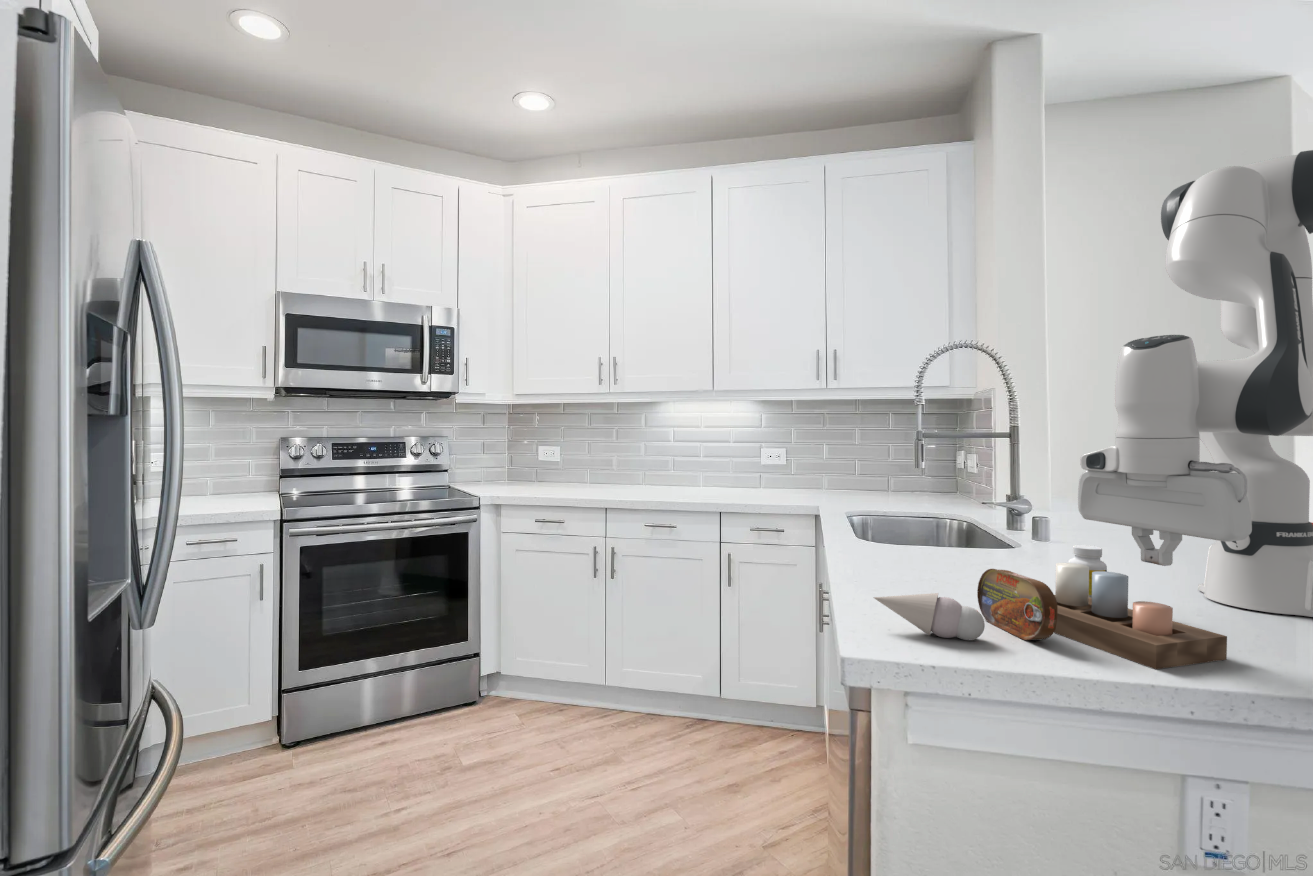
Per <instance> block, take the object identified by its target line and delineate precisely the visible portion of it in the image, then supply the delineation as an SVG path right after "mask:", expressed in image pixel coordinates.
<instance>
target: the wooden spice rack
mask: <svg viewBox="0 0 1313 876" xmlns="http://www.w3.org/2000/svg"><path fill="white" fill-rule="evenodd" d="M1054 596H1055V594H1054ZM1057 606H1058V609H1057V610H1058V616H1057V624H1056V629H1055V631H1054V633H1053V634H1056V635H1059V636H1062V637H1065V638H1068V639H1070V640H1073V641H1076V642H1078V643H1082V644H1085V645H1087V646H1090V647H1092V648H1095V649H1098V650H1101V651H1104V652H1105V653H1109V654H1112V655H1115V656H1118V657H1119V658H1120V657H1121V658H1122V659H1126V660H1129V661H1131V662H1134V663H1138V664H1140V665H1142V666H1144V667H1148V668H1151V669H1154V670H1160V669H1161V670H1163V669H1169V668H1175V667H1182V666H1189V665H1190V666H1191V665H1196V664H1203V663H1204V664H1205V663H1211V662H1219V661H1225V660H1227V658H1228V657H1227V656H1228V655H1227V654H1228V653H1227V652H1228V650H1227V649H1228V635H1225V634H1220V633H1217V632H1213V631H1209V630H1206V629H1203V628H1200V627H1196V626H1193V625H1188V624H1186V623H1181V622H1177V621H1174V620H1173V622H1172V634H1170V635H1162V636H1155V635H1152V634H1149V633H1145V632H1142V631H1139V630H1136V629H1133V628H1132V622H1133V608H1129V607H1128V617H1125V618H1113V617H1106V616H1101V615H1097V614H1095V613H1093V612H1092V598H1090V597H1089V605H1087V606H1071V605H1065V604H1061V603H1058V602H1057Z"/></svg>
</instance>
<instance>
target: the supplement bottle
mask: <svg viewBox="0 0 1313 876" xmlns="http://www.w3.org/2000/svg"><path fill="white" fill-rule="evenodd" d="M1072 548H1073V549H1072V554H1073V556H1074V557H1072V558H1070V559H1069V560H1067V561H1068V562H1067V563H1075V564H1081V565H1086V566H1088V567H1089V597H1090V598H1092V572H1096V571H1105V572H1108V569H1107V567H1108V566H1107V564H1106V562H1105V561H1102V560H1101V558H1102V557H1103V548H1102V547H1100V546H1095V545H1088V544H1077V545H1076V544H1075V545H1073V546H1072Z"/></svg>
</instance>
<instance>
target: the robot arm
mask: <svg viewBox="0 0 1313 876" xmlns="http://www.w3.org/2000/svg"><path fill="white" fill-rule="evenodd" d="M1160 210H1161V211H1160V225H1161V228H1162V232H1163V234H1164V236H1165V239H1166V240H1168V243H1167V246H1166V252H1165V269H1166V273H1167V276H1168V278H1170V280H1171V281H1172V282H1173V283H1174V284H1175V285H1176V286H1177V287H1178V288H1180V289H1181V290H1183V291H1185V292H1187V293H1189V294H1191V295H1193V296H1196V297H1200V298H1203V299H1207V300H1213V301H1214V300H1215V301H1220V331H1221V333H1222V335H1223V336H1224V338H1226V340H1228V341H1229V342H1230V343H1231V344H1234V345H1236V346H1239V347H1242V348H1245V349H1248V350H1251V352H1252V353H1253V354H1251V355H1250V356H1247V357H1243V358H1237V359H1236V358H1233V359H1219V360H1218V359H1217V360H1205V361H1197V355H1196V349H1195V345H1194V342H1193V339H1192V337H1191V336H1188V335H1184V334H1166V335H1164V334H1163V335H1154V336H1150V337H1144V338H1143V337H1142V338H1137V339H1134V340H1131V341H1128V342H1127V343H1125V344H1123V345H1122V346H1121V348H1120V350H1119V351H1120V352H1119V356H1118V360H1117V366H1116V371H1115V381H1114V383H1115V385H1114V407H1115V410H1116V413H1117V415H1118V416H1117V417H1118V424H1117V427H1116V431H1115V433H1114V445H1110V446H1107V447H1105V448H1102V449H1097V450H1095V451H1091V452H1088V453H1084V454H1082V455H1081V456H1080V458H1079V459H1080V460H1079V462H1080V468H1081V469H1083V470H1085V471H1084V472H1082V473H1081V474H1080V477H1079V480H1078V489H1077V509H1078V512H1079V514H1080V515H1081V517H1082V518H1083V519H1084V520H1089V521H1094V522H1101V523H1106V524H1111V525H1112V524H1114V525H1119V526H1125V527H1131V535H1132V537H1133V540H1134V541H1135V543H1136V545H1137V547H1138V548H1139V549H1140V561H1141V562H1144V563H1147V564H1148V563H1149V564H1153V565H1158V566H1162V567H1163V566H1164V567H1168V566H1172V565H1173V563H1174V562H1173V561H1174V558H1173V555H1174V554H1173V553H1174V552H1175V550H1176V549H1177V548H1178V546H1179V545H1180V544H1181V543H1182V541H1183V536H1188V537H1194V538H1195V537H1196V538H1200V539H1207V540H1213V541H1215V542H1214V543H1212V544H1211V545H1210V546H1209V548H1208V553H1207V559H1206V565H1205V566H1206V567H1205V574H1204V575H1205V576H1204V582H1203V583H1198V586H1197V590H1198V591H1199V592H1202V593H1203V595H1204V597H1205V598H1206V599H1209V600H1211V601H1213V602H1216V603H1220V604H1223V605H1226V606H1227V605H1228V606H1232V607H1235V608H1240V609H1247V610H1250V611H1251V610H1252V611H1259V612H1265V613H1272V614H1279V615H1280V614H1282V615H1295V616H1304V617H1311V618H1313V521H1310V493H1311V492H1310V491H1311V490H1310V488H1311V485H1310V483H1311V481H1310V478H1309V476H1308V473H1306V471H1305V470H1304V469H1303V468H1302V467H1301V466H1299V465H1298V464H1296V463H1295V462H1292V461H1290V460H1288V459H1286V458H1284V457H1282V456H1280V455H1278V453H1277V452H1276V451H1275V450H1274V448H1273V447H1272V445H1271V441H1270V439H1269V438H1270V436H1275V437H1279V436H1280V437H1281V436H1285V437H1287V436H1288V437H1289V436H1291V437H1292V436H1293V437H1300V436H1301V437H1313V264H1312V255H1311V249H1310V243H1309V239H1308V235H1307V233H1308V234H1309V235H1311V234H1313V149H1311V150H1309V149H1308V150H1303V151H1300V152H1299V153H1297V154H1293V155H1285V156H1281V157H1274V158H1270V159H1265V160H1260V161H1256V162H1252V163H1247V164H1243V165H1242V166H1240V165H1233V166H1232V165H1231V166H1224V167H1219V168H1216V169H1213V170H1211V171H1208V172H1206V173H1204V174H1203V175H1201V176H1199V177H1198V178H1197V179H1196V180H1192V181H1189V182H1186V183H1185V184H1183V185H1180V186H1178V187H1176V188H1175V189H1173V190H1172V191H1171V192H1170V193H1169V194H1168V195H1167V196H1166V197H1165V199H1163V202H1162V206H1161V209H1160ZM1200 442H1202V443H1203V445H1204V446H1205V448H1206V450H1207V451H1208V453H1209V455H1210V456H1211V458H1212V461H1213V462H1208V461H1200V458H1201V457H1200V456H1201V455H1200V450H1201V449H1200V447H1201V446H1200V445H1201V444H1200ZM1154 531H1157V532H1158V535H1159V538H1158V539H1159V540H1161V541H1163V542H1162V544H1161V545H1160V547H1159V548H1157V547H1156V546H1155V545H1154V542H1153V541H1152V538H1151V536H1153V535H1154Z"/></svg>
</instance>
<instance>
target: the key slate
mask: <svg viewBox="0 0 1313 876" xmlns="http://www.w3.org/2000/svg"><path fill="white" fill-rule="evenodd" d="M1128 608H1129V576H1128V575H1126V574H1124V573H1120V572H1114V571H1107V572H1105V571H1096V572H1092V612H1093V613H1095V614H1097V615H1101V616H1106V617H1113V618H1125V617H1128Z"/></svg>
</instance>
